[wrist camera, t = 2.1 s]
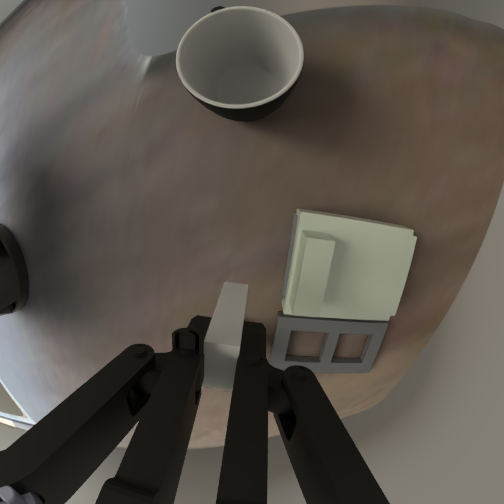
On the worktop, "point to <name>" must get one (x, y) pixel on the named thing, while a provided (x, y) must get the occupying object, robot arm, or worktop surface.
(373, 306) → the cover
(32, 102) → the worktop surface
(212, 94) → the mug
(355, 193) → the worktop surface
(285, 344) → the socket board
